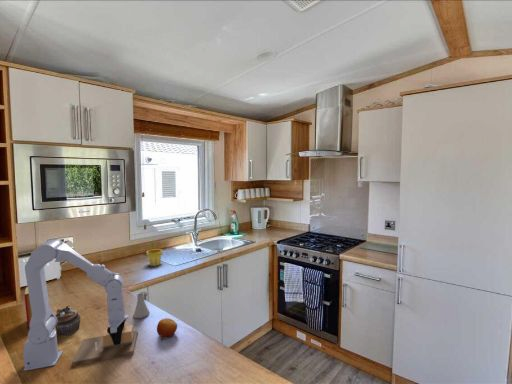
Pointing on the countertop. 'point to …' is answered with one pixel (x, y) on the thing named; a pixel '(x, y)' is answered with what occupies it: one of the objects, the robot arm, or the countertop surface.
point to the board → (101, 350)
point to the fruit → (166, 328)
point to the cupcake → (67, 321)
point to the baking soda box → (28, 307)
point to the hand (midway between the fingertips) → (118, 340)
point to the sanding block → (125, 337)
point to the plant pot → (154, 256)
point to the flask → (141, 307)
